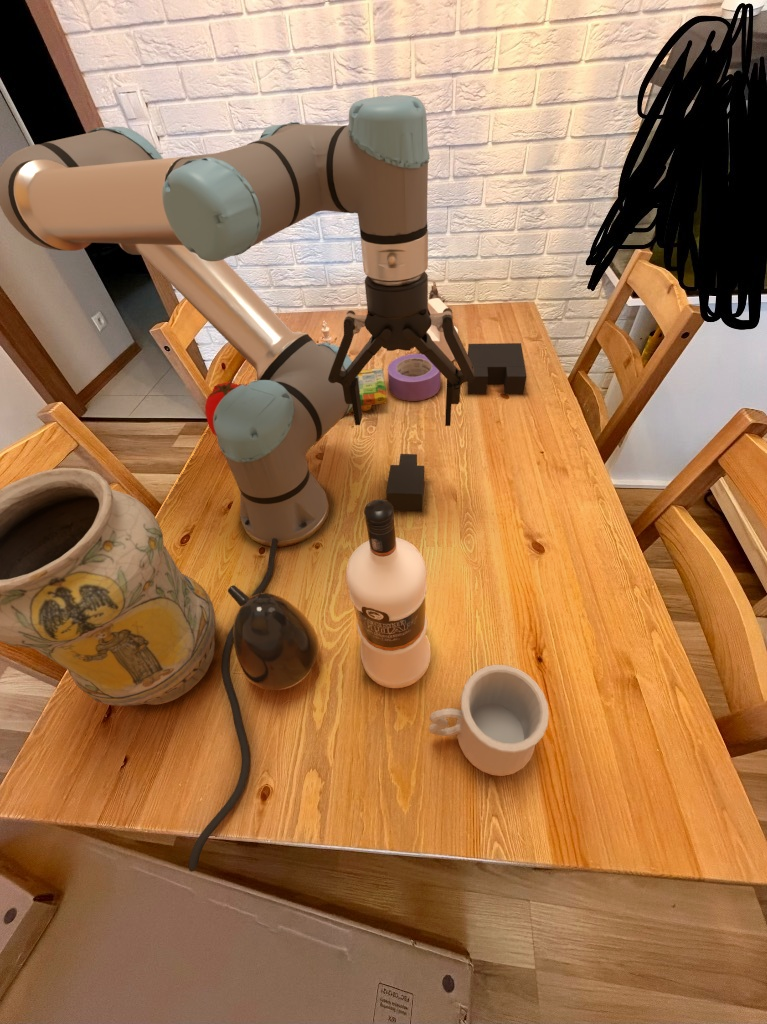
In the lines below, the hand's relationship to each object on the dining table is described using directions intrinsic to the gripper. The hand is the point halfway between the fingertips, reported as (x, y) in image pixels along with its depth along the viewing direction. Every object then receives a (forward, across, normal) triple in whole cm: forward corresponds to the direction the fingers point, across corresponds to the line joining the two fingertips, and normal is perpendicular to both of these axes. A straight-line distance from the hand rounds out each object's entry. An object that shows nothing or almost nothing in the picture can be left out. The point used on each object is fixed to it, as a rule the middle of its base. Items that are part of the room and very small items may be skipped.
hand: (402, 420), depth 70 cm
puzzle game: (+17, -17, +29) cm, 37 cm away
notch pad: (+17, +17, +39) cm, 46 cm away
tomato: (+17, -35, +15) cm, 42 cm away
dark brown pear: (+17, -14, -32) cm, 39 cm away
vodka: (+17, +1, -30) cm, 35 cm away
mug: (+17, +12, -39) cm, 44 cm away
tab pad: (+17, 0, +1) cm, 17 cm away
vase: (+17, -31, -33) cm, 48 cm away
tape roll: (+17, -1, +35) cm, 39 cm away
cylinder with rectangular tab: (+17, +4, +49) cm, 52 cm away
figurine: (+17, +4, +62) cm, 64 cm away
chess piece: (+17, -22, +47) cm, 55 cm away
